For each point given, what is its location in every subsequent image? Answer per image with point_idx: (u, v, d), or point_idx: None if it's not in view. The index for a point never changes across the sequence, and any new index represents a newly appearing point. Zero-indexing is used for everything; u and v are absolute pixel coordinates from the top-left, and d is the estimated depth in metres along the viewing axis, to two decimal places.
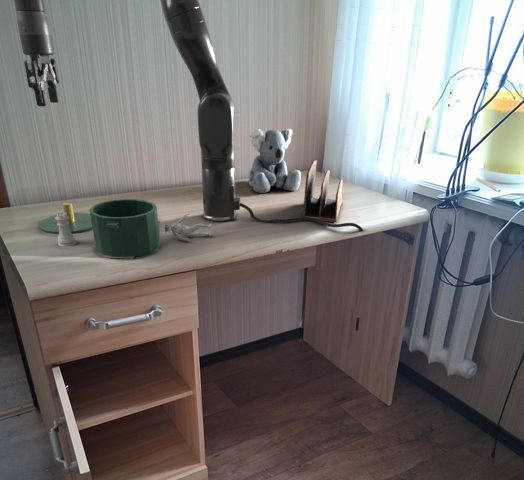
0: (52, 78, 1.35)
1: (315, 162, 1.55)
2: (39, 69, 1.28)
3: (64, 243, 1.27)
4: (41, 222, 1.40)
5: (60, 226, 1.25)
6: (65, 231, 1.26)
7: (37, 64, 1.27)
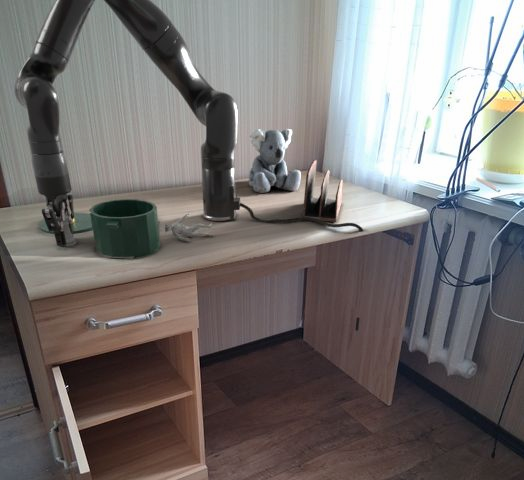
0: (67, 214, 1.26)
1: (315, 162, 1.55)
2: (56, 209, 1.20)
3: None
4: (41, 222, 1.40)
5: None
6: (65, 231, 1.26)
7: (54, 205, 1.19)
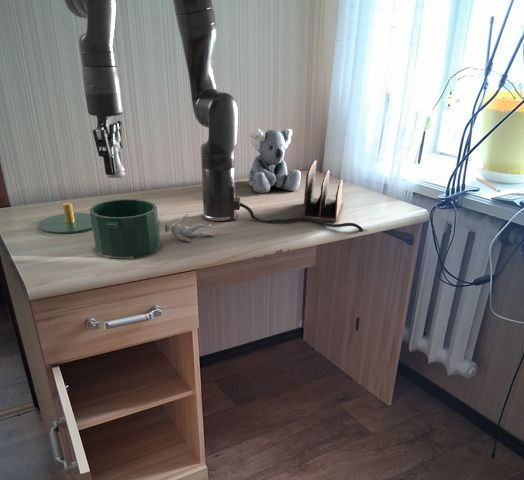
0: (117, 141, 1.16)
1: (315, 162, 1.55)
2: (107, 132, 1.11)
3: None
4: (41, 222, 1.40)
5: None
6: (114, 159, 1.16)
7: (105, 126, 1.09)
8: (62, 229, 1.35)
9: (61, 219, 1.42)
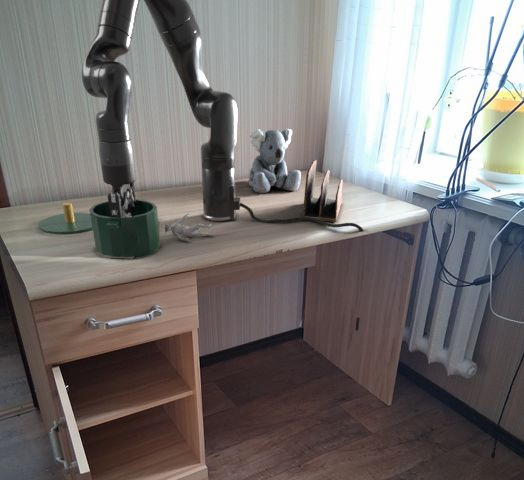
0: (131, 202, 1.25)
1: (315, 162, 1.55)
2: (121, 199, 1.18)
3: None
4: (41, 222, 1.40)
5: None
6: None
7: (120, 195, 1.17)
8: (62, 229, 1.35)
9: (61, 219, 1.42)
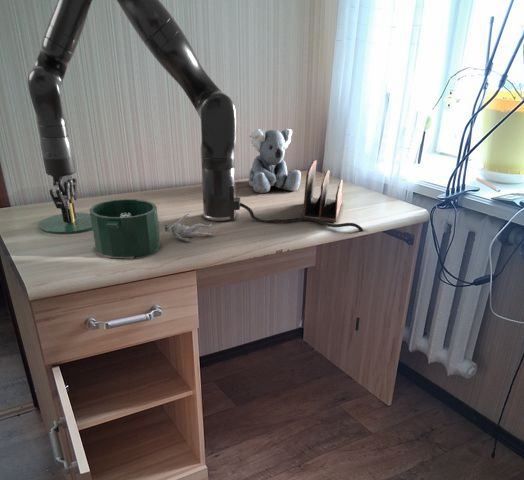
0: (71, 195, 1.38)
1: (315, 162, 1.55)
2: (61, 188, 1.32)
3: None
4: (41, 222, 1.40)
5: None
6: None
7: (60, 185, 1.31)
8: (62, 229, 1.35)
9: (61, 219, 1.42)
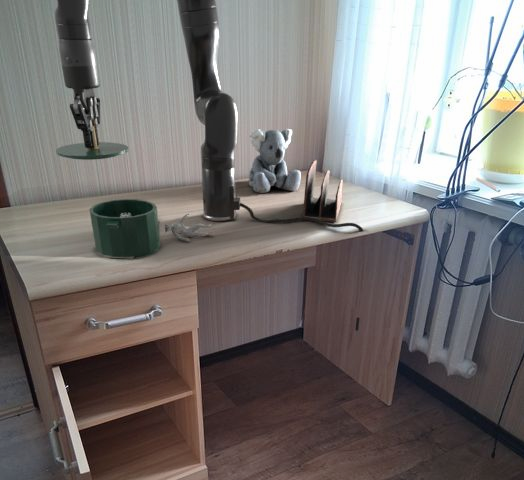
0: (94, 115, 1.18)
1: (315, 162, 1.55)
2: (83, 104, 1.13)
3: None
4: (59, 148, 1.20)
5: None
6: None
7: (81, 99, 1.12)
8: (84, 154, 1.16)
9: (82, 146, 1.23)
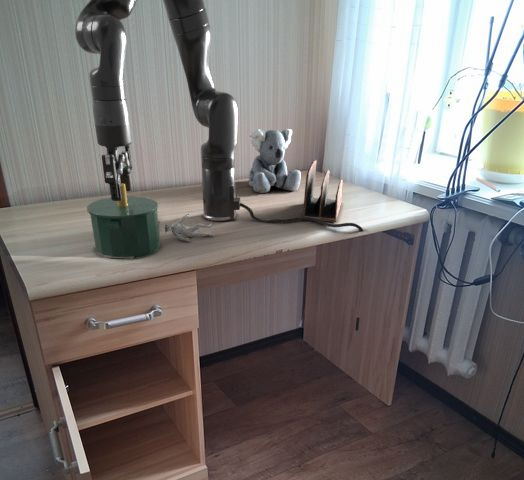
0: (126, 167, 1.20)
1: (315, 162, 1.55)
2: (116, 162, 1.14)
3: None
4: (89, 206, 1.22)
5: None
6: None
7: (114, 157, 1.13)
8: (116, 213, 1.17)
9: (111, 203, 1.24)
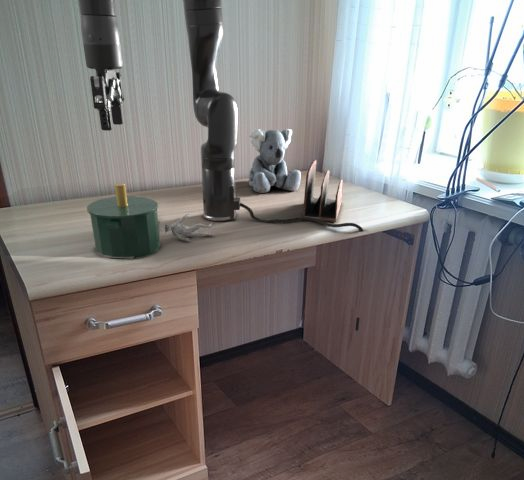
0: (118, 96, 1.12)
1: (315, 162, 1.55)
2: (106, 86, 1.06)
3: None
4: (89, 206, 1.22)
5: None
6: None
7: (104, 80, 1.05)
8: (116, 213, 1.17)
9: (111, 203, 1.24)
